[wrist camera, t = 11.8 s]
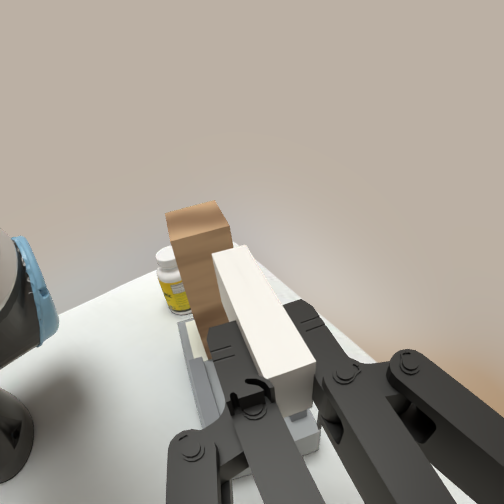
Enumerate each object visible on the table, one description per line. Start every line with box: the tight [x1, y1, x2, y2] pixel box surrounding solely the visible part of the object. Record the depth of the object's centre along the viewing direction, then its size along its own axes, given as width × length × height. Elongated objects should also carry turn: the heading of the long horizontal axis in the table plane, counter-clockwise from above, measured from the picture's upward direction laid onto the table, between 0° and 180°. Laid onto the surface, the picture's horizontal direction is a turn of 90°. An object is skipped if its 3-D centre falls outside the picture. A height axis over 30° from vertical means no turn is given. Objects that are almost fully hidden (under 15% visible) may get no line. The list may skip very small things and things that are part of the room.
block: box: [165, 200, 233, 360], centre depth 33 cm, size 6×5×15 cm
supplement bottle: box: [156, 246, 192, 315], centre depth 48 cm, size 5×5×10 cm
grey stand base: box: [177, 318, 321, 480], centre depth 33 cm, size 20×10×6 cm, turn 18°
